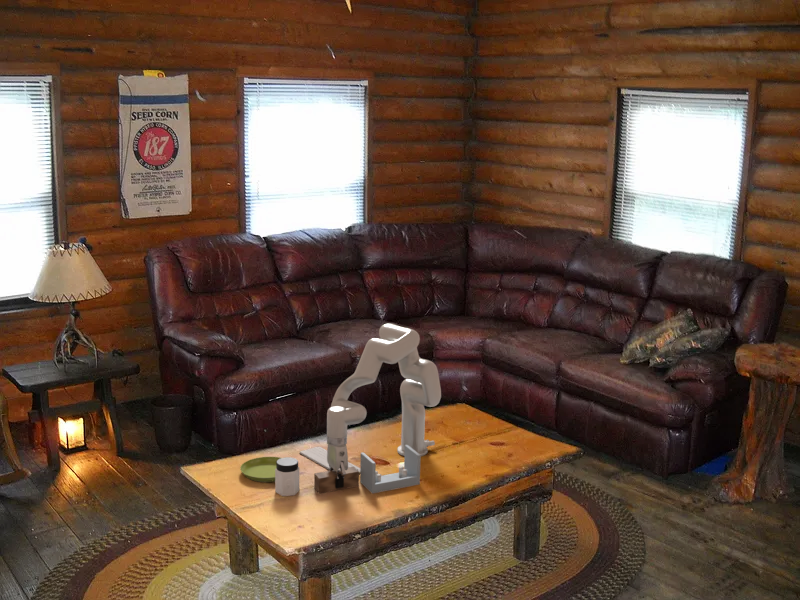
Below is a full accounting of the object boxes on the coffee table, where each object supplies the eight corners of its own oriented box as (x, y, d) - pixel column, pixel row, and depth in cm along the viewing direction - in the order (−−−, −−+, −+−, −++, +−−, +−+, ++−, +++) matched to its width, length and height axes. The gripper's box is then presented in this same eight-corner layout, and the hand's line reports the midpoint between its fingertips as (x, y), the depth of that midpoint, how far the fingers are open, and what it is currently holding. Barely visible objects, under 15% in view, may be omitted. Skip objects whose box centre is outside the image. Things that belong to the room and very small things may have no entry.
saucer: (304, 476, 356) (304, 468, 355) (259, 490, 342) (259, 482, 342) (274, 459, 371) (274, 451, 370) (230, 472, 358) (230, 464, 357)
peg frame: (406, 473, 360) (407, 444, 357) (419, 484, 350) (420, 455, 347) (360, 482, 351) (360, 452, 348) (372, 493, 341) (372, 463, 339)
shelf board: (353, 481, 352) (353, 466, 350) (358, 486, 347) (358, 471, 346) (314, 488, 345) (314, 473, 343) (319, 493, 340) (319, 478, 339)
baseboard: (323, 448, 384) (299, 455, 377) (323, 441, 384) (299, 448, 376) (368, 472, 361) (344, 480, 354) (368, 465, 361) (344, 473, 353)
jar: (276, 497, 337) (276, 466, 334) (274, 487, 344) (274, 457, 342) (300, 495, 339) (300, 465, 336) (298, 485, 346) (298, 456, 344)
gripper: (355, 446, 336) (354, 491, 340) (337, 430, 351) (337, 474, 355) (336, 449, 333) (335, 495, 337) (319, 433, 347) (318, 477, 352)
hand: (336, 484), depth 346 cm, fingers closed on shelf board, 5 cm apart
